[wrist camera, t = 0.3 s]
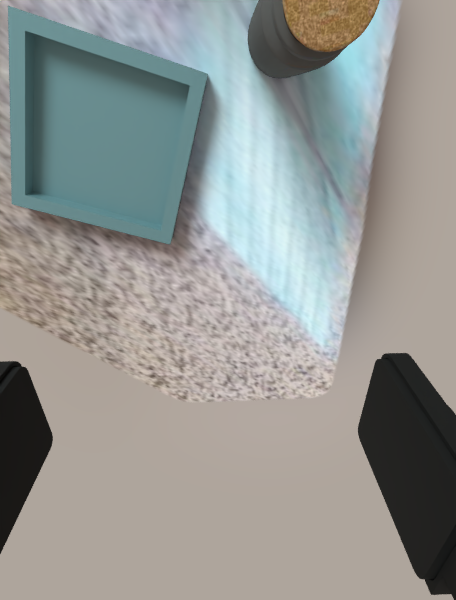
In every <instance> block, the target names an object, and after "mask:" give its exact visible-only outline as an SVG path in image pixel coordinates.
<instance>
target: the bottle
mask: <svg viewBox="0 0 456 600" xmlns="http://www.w3.org/2000/svg"><path fill="white" fill-rule="evenodd" d="M378 4H379V0H259V1H258V3H257V6H256V8H255V11H254V13H253V16H252V19H251V22H250V25H249V30H248V45H249V51H250V54H251V57H252V59H253V61H254V63H255V64H256V66H257V67H258V68H259V69H260V70H261V71H262V72H263V73H265V74H266V75H268V76H271V77H274V78H287V77H291V76H295V75H299V74H302V73H305V72H309V71H312V70H315V69H318V68H320V67H322V66H325V65H326V64H328V63H329V62H331V61H332V60H334V59H335V58H336V57H337V56H338V55H339V54H340V53H341V52H342V51H343V50H344V49H345V48H346V47H347V46H348V45H349V44H350V43H352V42H353V41H354V40H356V39H357V38H358V37H359V36H360V35H361V34H362V33H363V32H364V31H365V29H366V28H367V26H368V25H369V23H370V22H371V20H372V18H373V16H374V14H375V12H376V9H377V7H378Z"/></svg>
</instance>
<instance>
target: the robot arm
mask: <svg viewBox="0 0 456 600" xmlns="http://www.w3.org/2000/svg"><path fill="white" fill-rule="evenodd" d="M358 435H359V438H360V442H361V444H362V446H363V449H364V451H365V454H366V456H367V458H368V461H369V463H370V466H371V468H372V470H373V473H374V475H375V478H376V480H377V483H378V485H379V487H380V490H381V492H382V495H383V497H384V499H385V502H386V504H387V507H388V509H389V511H390V514H391V516H392V519H393V521H394V523H395V526H396V528H397V530H398V533H399V535H400V538H401V540H402V543H403V545H404V548H405V550H406V552H407V554H408V557H409V560H410V562H411V564H412V567H413V569H414V571H415V573H416V575H417V576H418V577H419V578H420V579H425V582H426V584H427V586H428V589H429V591H430V593H431V595H437V594H452V596H453V598H454V600H456V415H455V413H454V412H453V411H452V410H451V408H450V407H449V406H448V405H446V403H445V402H444V400H443V399H442V398H441V396H440V395H439V394H438V392H437V391H436V389H435V388H434V387H433V386H432V384H431V383H430V381H429V380H428V379H427V378H426V376H425V375H424V373H423V372H422V371H421V369H420V368H419V367H418V365H417V364H416V363H415V361H414V360H413V359H412V358H411V356H410V355H409V354H407V353H389V354H384V355H383V356H382V358H381V359H377V360H376V362H375V365H374V369H373V373H372V376H371V380H370V384H369V388H368V392H367V395H366V400H365V403H364V407H363V410H362V414H361V418H360V422H359V426H358ZM52 441H53V436H52V432H51V430H50V427H49V424H48V422H47V420H46V417H45V414H44V411H43V409H42V406H41V404H40V401H39V398H38V396H37V393H36V390H35V388H34V386H33V383H32V380H31V377H30V375H29V372H28V370H27V368H25V367H22V366H21V364H20V363H19V362H16V361H11V362H10V361H8V362H0V553H1V551H2V549H3V547H4V545H5V543H6V541H7V539H8V537H9V534H10V532H11V530H12V528H13V526H14V524H15V522H16V520H17V518H18V515H19V513H20V512H21V509H22V507H23V505H24V503H25V501H26V499H27V497H28V495H29V493H30V491H31V488H32V486H33V484H34V482H35V480H36V478H37V476H38V474H39V472H40V470H41V467H42V465H43V463H44V461H45V459H46V457H47V455H48V452H49V451H50V448H51V446H52Z"/></svg>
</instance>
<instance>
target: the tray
mask: <svg viewBox="0 0 456 600" xmlns="http://www.w3.org/2000/svg"><path fill="white" fill-rule="evenodd" d="M8 28H9V81H10V133H11V186H12V204H14V205H18V206H21V207H25V208H29V209H33V210H37V211H41V212H45V213H49V214H53V215H57V216H61V217H64V218H68V219H72V220H76V221H80V222H84V223H88V224H92V225H96V226H100V227H103V228H107V229H111V230H115V231H119V232H123V233H127V234H131V235H135V236H139V237H143V238H146V239H150V240H154V241H158V242H162V243H166V244H171V241H172V238H173V233H174V229H175V224H176V219H177V215H178V210H179V206H180V201H181V197H182V192H183V187H184V183H185V178H186V174H187V169H188V165H189V160H190V155H191V151H192V146H193V142H194V137H195V133H196V128H197V123H198V119H199V114H200V110H201V105H202V100H203V96H204V91H205V87H206V82H207V78H208V74H207V73H204V72H201V71H198V70H195V69H192V68H189V67H186V66H183V65H180V64H177V63H175V62H172V61H169V60H166V59H163V58H160V57H157V56H154V55H151V54H148V53H145V52H142V51H139V50H136V49H134V48H131V47H128V46H125V45H122V44H119V43H116V42H113V41H110V40H107V39H104V38H101V37H98V36H95V35H93V34H90V33H87V32H84V31H81V30H78V29H75V28H72V27H69V26H66V25H63V24H60V23H57V22H54V21H51V20H49V19H46V18H43V17H40V16H37V15H34V14H31V13H28V12H25V11H22V10H19V9H16V8H13V7H10V6H8Z"/></svg>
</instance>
